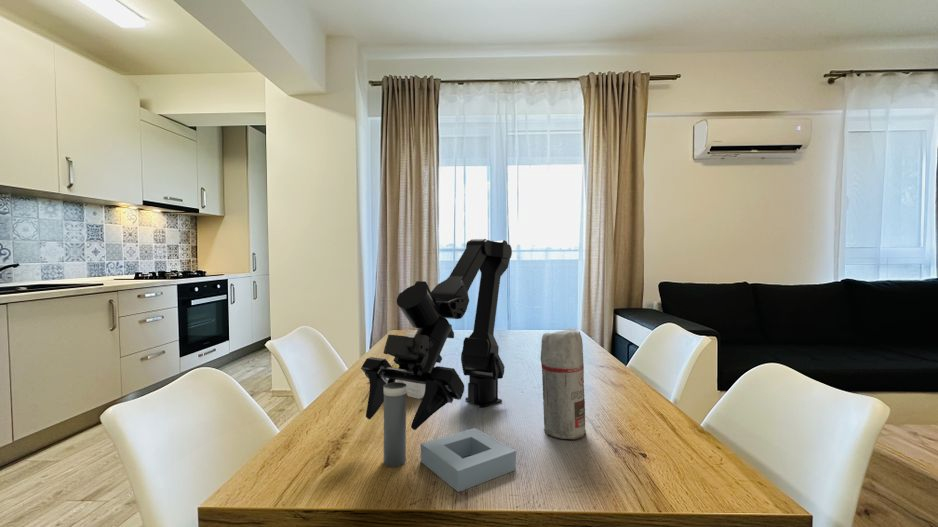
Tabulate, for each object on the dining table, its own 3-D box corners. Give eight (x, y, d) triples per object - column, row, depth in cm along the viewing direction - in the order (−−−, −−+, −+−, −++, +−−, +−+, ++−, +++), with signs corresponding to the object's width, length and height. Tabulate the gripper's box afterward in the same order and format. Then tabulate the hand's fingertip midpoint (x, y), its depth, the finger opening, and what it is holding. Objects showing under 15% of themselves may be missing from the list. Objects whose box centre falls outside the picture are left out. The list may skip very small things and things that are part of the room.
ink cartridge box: (393, 393, 102) (393, 335, 102) (406, 388, 106) (406, 332, 106) (419, 399, 97) (420, 338, 98) (432, 394, 102) (432, 335, 102)
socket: (474, 444, 73) (474, 427, 73) (515, 469, 64) (515, 450, 64) (420, 461, 66) (420, 443, 66) (458, 492, 57) (458, 471, 57)
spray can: (560, 444, 73) (561, 334, 73) (533, 428, 80) (533, 327, 80) (595, 435, 77) (595, 330, 77) (566, 421, 84) (566, 325, 84)
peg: (400, 454, 69) (400, 381, 69) (409, 462, 66) (410, 386, 66) (379, 460, 67) (380, 384, 67) (388, 469, 64) (389, 390, 64)
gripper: (368, 313, 74) (320, 389, 65) (456, 319, 66) (417, 408, 56) (394, 348, 81) (355, 421, 71) (477, 358, 73) (446, 443, 63)
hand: (389, 423), depth 65 cm, fingers open, 9 cm apart
